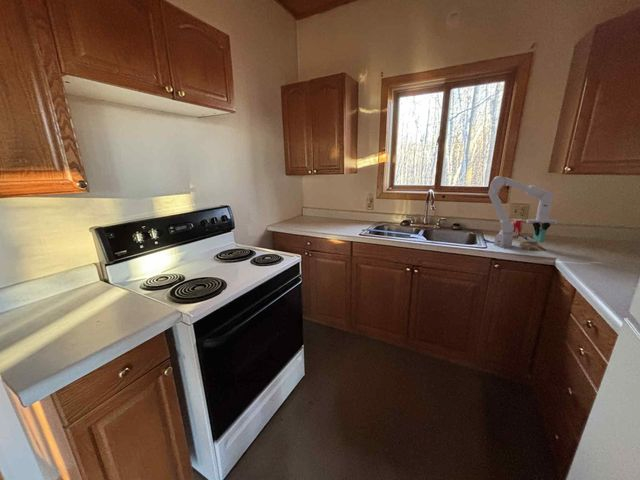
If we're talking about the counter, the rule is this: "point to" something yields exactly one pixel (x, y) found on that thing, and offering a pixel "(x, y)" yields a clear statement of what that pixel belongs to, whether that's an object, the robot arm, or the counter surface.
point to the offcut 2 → (526, 246)
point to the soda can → (517, 227)
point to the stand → (528, 240)
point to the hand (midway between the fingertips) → (539, 235)
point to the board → (540, 235)
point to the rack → (536, 248)
